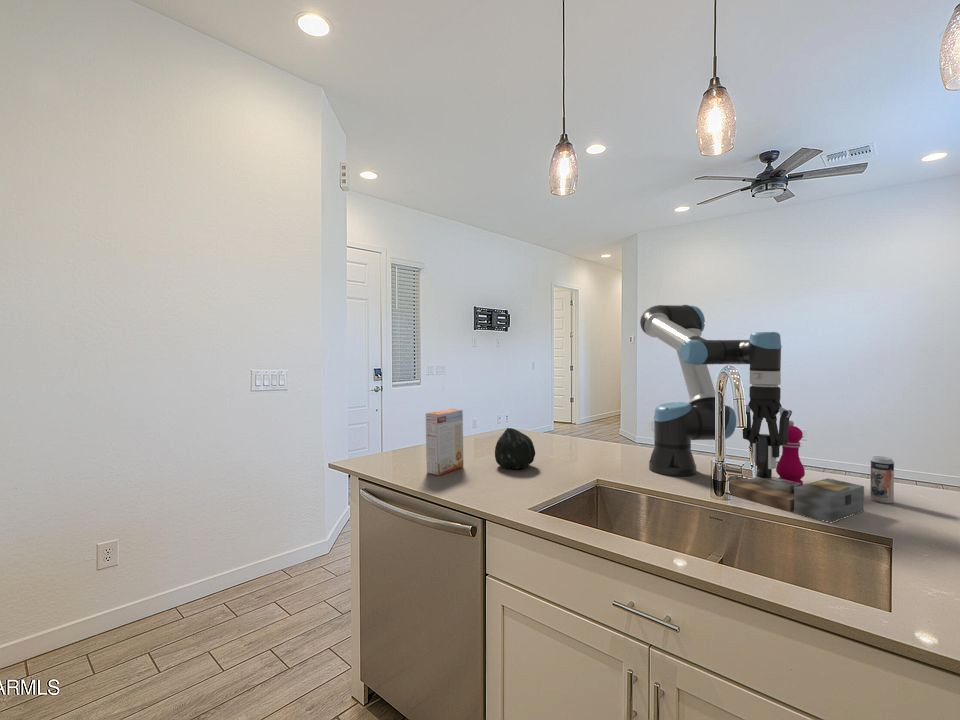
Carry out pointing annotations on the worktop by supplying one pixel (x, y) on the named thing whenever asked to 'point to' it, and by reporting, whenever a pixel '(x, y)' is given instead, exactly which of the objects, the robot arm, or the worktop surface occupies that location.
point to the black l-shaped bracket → (762, 461)
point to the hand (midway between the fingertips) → (764, 466)
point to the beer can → (882, 479)
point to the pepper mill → (791, 457)
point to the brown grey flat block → (804, 496)
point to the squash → (514, 450)
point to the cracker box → (444, 441)
